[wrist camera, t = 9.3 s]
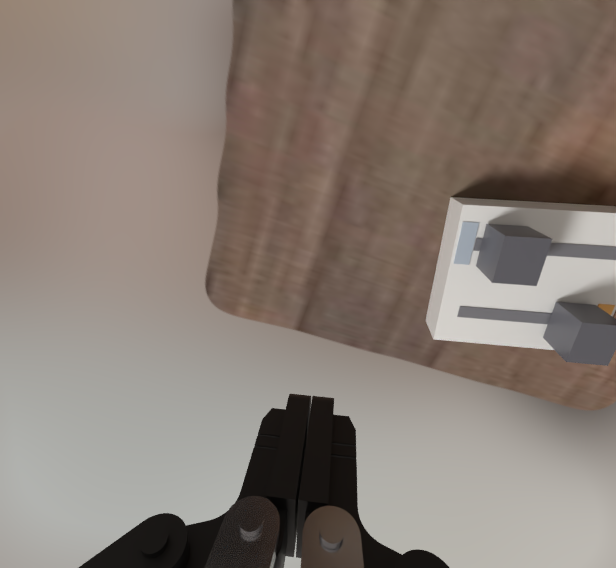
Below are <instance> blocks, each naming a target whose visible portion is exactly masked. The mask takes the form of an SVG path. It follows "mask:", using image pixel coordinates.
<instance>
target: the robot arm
mask: <svg viewBox="0 0 616 568" xmlns="http://www.w3.org/2000/svg"><path fill="white" fill-rule="evenodd" d="M333 407H334V398H326V397H317V396H313V397H312V404H311V396H306V395H297V394H290V395H289V398H288V402H287V406H286V410H284V409H274V408H272V409H271V410H270V411H269V413H268V414H267V415H266V416H265V417H264V418H263V420H262V422H261V426H260V429H259V432H258V436H257V439H256V443H255V447H254V449H253V453H252V456H251V459H250V462H249V466H248V469H247V473H246V476H245V479H244V482H243V486H242V489H241V492H240V495H239V497H238V499H237V501H236V502H235V504H234V505H232V507H231V508H230V509H229V510H228V511H227V512H226V513H225V514H223V515H222V516H220V517H218V518H216V519H213V520H210V521H205V522H201V523H196V524H191V525H187V526H186V525H185V523H184V522H183V520H182V519H181V518H179V517H178V516H176V515H173V514H169V513H164V514H158V515H155V516H152V517H150V518H148V519H146V520H145V521H143V522H142V523H140V524H139V525H138V526H136V527H135V528H133V529H132V530H131V531H129V532H128V533H126V534H125V535H124V536H122V537H121V538H119V539H118V540H117V541H115V542H114V543H112V544H111V545H110V546H108V547H107V548H105V549H104V550H103V551H101V552H100V553H98V554H97V555H96V556H94V557H93V558H91V559H90V560H89V561H87V562H86V563H84V564H83V565H82V566H80V567H79V568H284V562H285V556H290V557H294V550H295V542H296V535H297V548H296V549H297V551H296V557H298V558H301V568H449V567H448V566H447V565H446V564H445V562H443V561H442V560H441V559H440V558H439V557H437V556H436V555H434V554H432V553H430V552H428V551H424V550H411V551H408V552H406V553H405V554H403V555H401V554H399V553H397V552H396V551H394V550H391V549H390V548H388V547H386V546H384V545H382V544H380V543H379V542H377V541H376V540H375V539H373V538H372V537H371V536H370V535H369V534H368V532H367V531H366V530H365V529H364V527H363V525H362V523H361V521H360V518H359V514H358V507H357V467H356V430H355V428H354V426H353V424H352V422H351V420H350V418H349V416H340V415H333ZM310 409H311V411H310Z"/></svg>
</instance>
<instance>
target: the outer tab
mask: <svg viewBox="0 0 616 568" xmlns="http://www.w3.org/2000/svg"><path fill="white" fill-rule="evenodd" d="M543 338H544V339H545V340H546V341H547V342H548V343H549V345H550V346H551V347H552V348H553V349H554V350H555V351H556V352H557V353H558V354H559V355H560V356H561V357H562V358H563V359H564V360H565V361H566V362H574V363H585V364H596V365H607V366H608V364H609V362H610V360H611V358H612V356H613V354H614V352H615V350H616V319H615V318H614V317H612V316H611V315H609V314H608V313H606V312H605V311H604V310H602V309H601V308H599V307H598V306H596V305H592V304H580V303H567V302H556V303H555V306H554V309H553V311H552V314H551V317H550V319H549V322H548V325H547V327H546V330H545V333H544V336H543Z"/></svg>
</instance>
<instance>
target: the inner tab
mask: <svg viewBox="0 0 616 568" xmlns="http://www.w3.org/2000/svg"><path fill="white" fill-rule="evenodd" d="M551 242H552V238H550V237H548V236H546V235H544V234H542V233H540V232H538V231H536V230H534V229H532V228H530V227H528V226H515V225H499V224H486V228H485V232H484V235H483V239H482V243H481V247H480V251H479V255H478V259H477V263H476V267H477V268H478V269H479V270H480V271H481V272H482V273H483V274H484V275H485V276H486V277H487V278H488V279H489V280H490V281H491V282H492V283H501V284H515V285H528V286H537V283H538V280H539V278H540V275H541V272H542V269H543V266H544V263H545V260H546V257H547V254H548V251H549V248H550V245H551Z"/></svg>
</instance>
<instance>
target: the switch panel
mask: <svg viewBox="0 0 616 568" xmlns="http://www.w3.org/2000/svg"><path fill="white" fill-rule="evenodd" d="M486 224H499V225H515V226H528V227H530V228H532V229H534V230H536V231H538V232H540V233H542V234H544V235H546V236H548V237H550V238H552V242H551V245H550V248H549V251H548V254H547V257H546V260H545V263H544V266H543V269H542V272H541V275H540V278H539V280H538V283H537V286H528V285H515V284H501V283H492V282H491V281H490V280H489V279H488V278H487V277H486V276H485V275H484V274H483V273H482V272H481V271H480V270H479V269H478V268H477V267H476V263H477V259H478V255H479V251H480V247H481V243H482V239H483V235H484V232H485V228H486ZM556 302H567V303H580V304H592V305H596V306H598V307H599V308H601V309H602V310H604V311H605V312H606V313H608V314H609V315H611V316H612V317H613V315H614V313H615V310H616V206H604V205H586V204H568V203H550V202H531V201H513V200H495V199H477V198H459V197H451V198H450V203H449V208H448V213H447V217H446V222H445V227H444V232H443V237H442V242H441V247H440V252H439V257H438V262H437V267H436V272H435V277H434V282H433V287H432V292H431V296H430V301H429V306H428V311H427V316H426V322H427V325H428V327H429V330H430V332H431V334H432V337H433V339H437V340H448V341H459V342H470V343H482V344H493V345H504V346H515V347H527V348H538V349H549V350H554V349H553V348H552V347H551V346H550V345H549V343H548V342H547V341H546V340H545V339H544V338H543V336H544V333H545V330H546V327H547V325H548V322H549V319H550V317H551V314H552V311H553V309H554V306H555V303H556Z"/></svg>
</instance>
